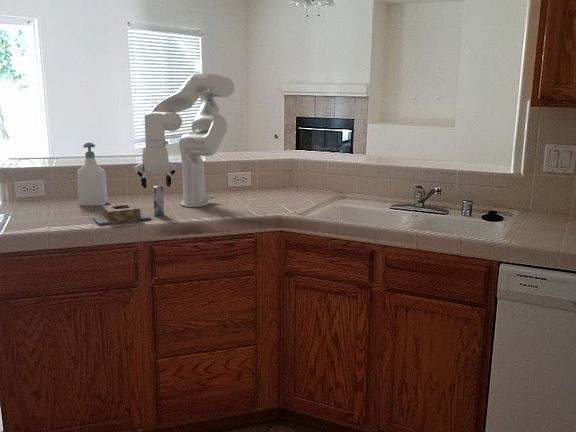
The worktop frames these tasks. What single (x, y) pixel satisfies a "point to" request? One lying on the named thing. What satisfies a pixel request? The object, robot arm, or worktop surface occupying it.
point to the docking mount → (120, 214)
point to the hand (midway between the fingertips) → (156, 186)
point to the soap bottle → (91, 181)
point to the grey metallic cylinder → (158, 201)
